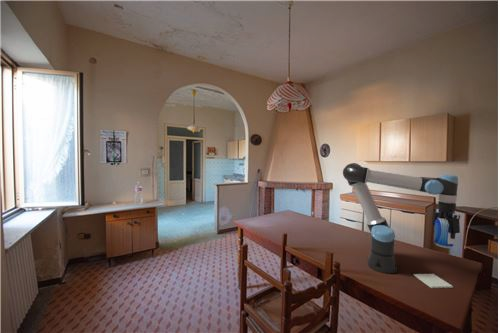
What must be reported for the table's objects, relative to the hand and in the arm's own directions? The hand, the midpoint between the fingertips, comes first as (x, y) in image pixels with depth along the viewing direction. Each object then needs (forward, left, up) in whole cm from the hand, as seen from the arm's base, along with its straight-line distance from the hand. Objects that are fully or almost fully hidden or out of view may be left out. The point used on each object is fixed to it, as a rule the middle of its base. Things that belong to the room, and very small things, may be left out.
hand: (444, 240), depth 121 cm
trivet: (-16, -11, -17) cm, 26 cm away
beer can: (0, +1, -3) cm, 3 cm away
